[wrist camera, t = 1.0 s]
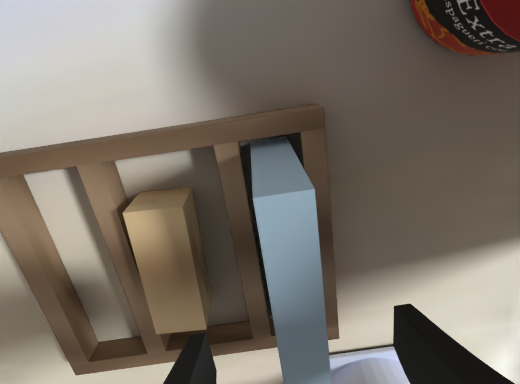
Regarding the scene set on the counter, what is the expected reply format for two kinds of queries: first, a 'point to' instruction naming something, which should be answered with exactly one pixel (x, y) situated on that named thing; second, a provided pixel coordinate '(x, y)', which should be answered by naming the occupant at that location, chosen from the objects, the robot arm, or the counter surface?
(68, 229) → the counter surface
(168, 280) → the offcut
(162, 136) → the rack
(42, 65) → the counter surface
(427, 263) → the counter surface
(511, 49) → the canned food
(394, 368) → the robot arm
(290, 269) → the panel
